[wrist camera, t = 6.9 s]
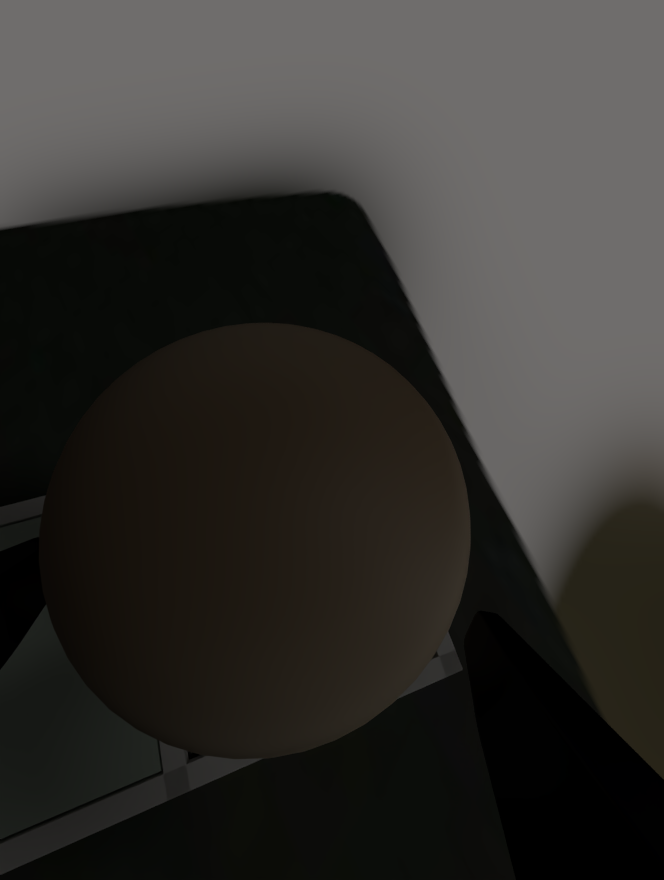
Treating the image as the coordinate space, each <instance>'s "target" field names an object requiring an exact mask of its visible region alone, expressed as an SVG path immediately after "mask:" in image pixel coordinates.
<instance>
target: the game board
mask: <svg viewBox="0 0 664 880" xmlns="http://www.w3.org/2000/svg"><path fill="white" fill-rule="evenodd" d="M45 497H46V496H42V497H38V498H34V499H30V500H26V501H22V502H18V503H14V504H10V505H6V506H3V507H0V551H2V550H5V549H7V548H10V547H13V546H15V545H18V544H20V543H23V542H25V541H28V540H30V539H33V538H36V537H39V529H40V523H41V517H42V511H43V505H44V500H45ZM461 670H463V669H462V666H461V663H460V661H459V658H458V656H457V653H456V651H455V648H454V645H453V643H452V640H451V638H450V635H449V633H448V632H447V633H446V635H445V637H444V639H443V641H442V642H441V644H440V646H439V648H438V650H437V651H436V653H435V655H434V656H433V658H432V659H431V660H430V662H429V663H428V664H427V666H426V667H425V668H424V670H423V671H422V672H421V674H420V675H419V676H418V678H417V679H416V680H415V681H414V682H413V683H412V684H411V685H410V686H409V687H408V688H407V689H406V690H405V691H404V692H403V693H402V694H401V695H400V696H399V697H398V698H400V697H402V696H405V695H407V694H409V693H411V692H414V691H416V690H418V689H421V688H423V687H425V686H427V685H430V684H432V683H434V682H436V681H439V680H441V679H443V678H445V677H448V676H450V675H452V674H454V673H457V672H459V671H461ZM398 698H397V699H398ZM260 759H263V758H257V759H229V758H221V757H213V756H206V755H199V756H197V757H195V758H192V759H190V760H189V757H188V751H186V750H183V749H180V748H176V747H173V746H170V745H167V744H165V743H163V742H161V741H159V740H157V739H155V738H153V737H151V736H149V735H147V734H145V733H143V732H141V731H139V730H137V729H135V728H134V727H133V726H131V725H130V724H129V723H127V722H126V721H124V720H123V719H122V718H120V717H119V716H118V715H116V714H115V713H114V712H112V711H111V710H109V709H108V708H107V706H106V705H105V704H104V703H103V702H102V701H101V700H100V699H99V698H98V697H97V696H96V695H95V694H94V693H93V692H92V691H91V690H90V689H89V688H88V687H87V686H86V684H85V683H84V682H83V680H82V679H81V677H80V676H79V674H78V673H77V671H76V670H75V668H74V667H73V665H72V664H71V663H70V661H69V660H68V658H67V656H66V654H65V652H64V650H63V647H62V645H61V643H60V641H59V639H58V637H57V635H56V632H55V630H54V628H53V625H52V623H51V619H50V616H49V612H48V609H47V605H45V607H44V608H43V610H42V611H41V613H40V614H39V616H38V617H37V619H36V620H35V622H34V623H33V625H32V626H31V628H30V629H29V631H28V632H27V634H26V635H25V637H24V638H23V640H22V641H21V643H20V644H19V646H18V647H17V648H16V650H15V651H14V653H13V654H12V655H11V657H10V658H9V659H8V661H7V662H6V663H5V664H4V666H3V667H2V668H1V670H0V839H2V838H4V839H2V840H0V875H1V874H3V873H6V872H8V871H10V870H12V869H15V868H17V867H19V866H21V865H24V864H26V863H28V862H30V861H33V860H35V859H37V858H39V857H42V856H44V855H46V854H49V853H51V852H53V851H55V850H58V849H60V848H62V847H64V846H67V845H69V844H71V843H73V842H76V841H78V840H80V839H82V838H85V837H87V836H89V835H91V834H94V833H96V832H98V831H100V830H103V829H105V828H107V827H109V826H112V825H114V824H116V823H118V822H121V821H123V820H125V819H127V818H130V817H132V816H134V815H136V814H139V813H141V812H143V811H145V810H148V809H150V808H152V807H154V806H157V805H159V804H161V803H163V802H166V801H168V800H170V799H173V798H175V797H177V796H179V795H182V794H184V793H186V792H188V791H191V790H193V789H195V788H197V787H200V786H202V785H204V784H206V783H209V782H211V781H213V780H215V779H218V778H220V777H222V776H224V775H227V774H229V773H231V772H233V771H236V770H238V769H240V768H242V767H245V766H247V765H249V764H251V763H254V762H256V761H258V760H260ZM162 769H163V771H162ZM160 771H162V772H160ZM158 772H159V773H158ZM155 773H157V774H155ZM153 774H155V775H153ZM151 775H152V776H151ZM148 776H150V777H148ZM146 777H148V778H146ZM143 778H145V779H143ZM141 779H143V780H141ZM139 780H141V781H139ZM136 781H138V782H136ZM134 782H136V783H134ZM132 783H134V784H132ZM129 784H131V785H129ZM127 785H129V786H127ZM125 786H126V787H125ZM122 787H124V788H122ZM120 788H122V789H120ZM118 789H119V790H118ZM115 790H117V791H115ZM113 791H115V792H113ZM111 792H112V793H111ZM108 793H110V794H108ZM106 794H108V795H106ZM103 795H105V796H103ZM101 796H103V797H101ZM99 797H101V798H99ZM96 798H98V799H96ZM94 799H96V800H94ZM92 800H94V801H92ZM89 801H91V802H89ZM87 802H89V803H87ZM85 803H87V804H85ZM82 804H84V805H82ZM80 805H82V806H80ZM78 806H80V807H78ZM75 807H77V808H75ZM73 808H75V809H73ZM71 809H72V810H71ZM68 810H70V811H68ZM66 811H68V812H66ZM64 812H65V813H64ZM61 813H63V814H61ZM59 814H61V815H59ZM56 815H58V816H56ZM54 816H56V817H54ZM52 817H54V818H52ZM49 818H51V819H49ZM47 819H49V820H47ZM45 820H47V821H45ZM42 821H44V822H42ZM40 822H42V823H40ZM38 823H40V824H38ZM35 824H37V825H35ZM33 825H35V826H33ZM31 826H33V827H31ZM28 827H30V828H28ZM26 828H28V829H26ZM24 829H26V830H24ZM21 830H23V831H21ZM19 831H21V832H19ZM17 832H18V833H17ZM14 833H16V834H14ZM12 834H14V835H12ZM9 835H11V836H9ZM7 836H9V837H7ZM5 837H7V838H5Z"/></svg>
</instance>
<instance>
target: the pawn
mask: <svg viewBox="0 0 664 880" xmlns="http://www.w3.org/2000/svg"><path fill="white" fill-rule="evenodd" d="M469 554H470V512H469V505H468V497H467V490H466V485H465V481H464V477H463V473H462V470H461V466H460V463H459V460H458V458H457V455H456V453H455V450H454V447H453V445H452V442H451V440H450V438H449V437H448V435H447V433H446V431H445V429H444V427H443V426H442V424H441V422H440V420H439V419H438V417H437V416H436V414H435V413H434V412H433V410H432V409H431V407H430V406H429V405H428V403H427V402H426V401H425V399H424V398H423V397H422V396H421V395H420V394H419V393H418V392H417V391H416V389H415V388H414V387H413V386H412V385H411V384H410V383H409V382H408V381H407V380H406V379H405V378H404V377H403V376H402V375H401V374H399V373H398V372H397V371H396V370H395V369H394V368H393V367H392V366H390V365H389V364H387V363H386V362H385V361H383V360H382V359H380V358H379V357H377V356H376V355H375V354H373V353H371V352H370V351H368V350H366V349H364V348H362V347H360V346H359V345H357V344H355V343H353V342H350V341H348V340H346V339H343V338H341V337H339V336H336V335H333V334H330V333H327V332H323V331H320V330H317V329H313V328H308V327H302V326H297V325H291V324H278V323H247V324H239V325H231V326H224V327H220V328H216V329H212V330H207V331H203V332H200V333H197V334H194V335H191V336H189V337H186V338H183V339H180V340H178V341H176V342H174V343H172V344H170V345H168V346H165V347H163V348H161V349H159V350H157V351H156V352H154V353H152V354H151V355H149V356H148V357H146V358H144V359H143V360H141V361H139V362H138V363H136V364H135V365H134V366H133V367H131V368H130V369H129V370H127V371H126V372H125V373H124V374H122V375H121V376H120V377H119V378H117V379H116V380H115V381H114V382H113V383H112V384H111V385H110V386H109V387H108V388H107V389H106V390H105V391H104V392H103V393H102V394H101V395H100V396H99V397H98V398H97V399H96V401H95V402H94V403H93V404H92V406H91V407H90V408H89V409H88V411H87V412H86V413H85V414H84V416H83V417H82V418H81V420H80V421H79V423H78V425H77V426H76V428H75V429H74V431H73V433H72V434H71V436H70V438H69V439H68V441H67V443H66V445H65V447H64V449H63V452H62V454H61V456H60V458H59V460H58V463H57V465H56V467H55V469H54V471H53V474H52V477H51V480H50V484H49V487H48V490H47V493H46V497H45V500H44V505H43V511H42V517H41V523H40V529H39V567H40V575H41V583H42V591H43V595H44V598H45V602H46V605H47V609H48V612H49V616H50V619H51V623H52V625H53V628H54V630H55V632H56V635H57V637H58V639H59V641H60V643H61V645H62V647H63V650H64V652H65V654H66V656H67V658H68V660H69V661H70V663H71V664H72V665H73V667H74V668H75V670H76V671H77V673H78V674H79V676H80V677H81V679H82V680H83V682H84V683H85V684H86V686H87V687H88V688H89V689H90V690H91V691H92V692H93V693H94V694H95V695H96V696H97V697H98V698H99V699H100V700H101V701H102V702H103V703H104V704H105V705H106V706H107V708H108V709H109V710H111V711H112V712H114V713H115V714H116V715H118V716H119V717H120V718H122V719H123V720H124V721H126V722H127V723H129V724H130V725H131V726H133V727H134V728H135V729H137V730H139V731H141V732H143V733H145V734H147V735H149V736H151V737H153V738H155V739H157V740H159V741H161V742H163V743H165V744H167V745H170V746H173V747H176V748H180V749H183V750H186V751H189V752H193V753H196V754H199V755H206V756H213V757H221V758H229V759H257V758H273V757H278V756H284V755H289V754H294V753H299V752H304V751H307V750H310V749H312V748H315V747H318V746H321V745H323V744H326V743H329V742H332V741H334V740H337V739H338V738H340V737H342V736H344V735H346V734H348V733H349V732H351V731H353V730H355V729H357V728H359V727H360V726H362V725H364V724H366V723H367V722H368V721H370V720H371V719H372V718H374V717H375V716H376V715H378V714H379V713H380V712H382V711H383V710H384V709H386V708H387V707H388V706H390V705H391V704H392V703H393V702H394V701H395V700H396V699H397V698H398V697H399V696H400V695H401V694H402V693H403V692H404V691H405V690H406V689H407V688H408V687H409V686H410V685H411V684H412V683H413V682H414V681H415V680H416V679H417V678H418V676H419V675H420V674H421V672H422V671H423V670H424V668H425V667H426V666H427V664H428V663H429V662H430V660H431V659H432V658H433V656H434V655H435V653H436V651H437V650H438V648H439V646H440V644H441V642H442V641H443V639H444V637H445V635H446V633H447V632H448V630H449V628H450V625H451V623H452V620H453V618H454V615H455V613H456V610H457V608H458V605H459V603H460V600H461V596H462V592H463V588H464V584H465V580H466V576H467V570H468V562H469Z"/></svg>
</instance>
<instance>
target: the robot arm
mask: <svg viewBox="0 0 664 880" xmlns="http://www.w3.org/2000/svg"><path fill="white" fill-rule="evenodd" d="M45 605H46V602H45V598H44V595H43V591H42V583H41V575H40V567H39V537H36V538H33V539H30V540H28V541H25V542H23V543H20V544H18V545H15V546H13V547H10V548H7V549H5V550H2V551H0V670H1V668H2V667H3V666H4V664H5V663H6V662H7V661H8V659H9V658H10V657H11V655H12V654H13V653H14V651H15V650H16V648H17V647H18V646H19V644H20V643H21V641H22V640H23V638H24V637H25V635H26V634H27V632H28V631H29V629H30V628H31V626H32V625H33V623H34V622H35V620H36V619H37V617H38V616H39V614H40V613H41V611H42V610H43V608H44V607H45ZM464 649H465V655H466V661H467V668H468V674H469V680H470V686H471V693H472V699H473V705H474V712H475V717H476V722H477V727H478V732H479V736H480V740H481V744H482V748H483V752H484V756H485V760H486V764H487V768H488V771H489V775H490V779H491V783H492V787H493V791H494V795H495V799H496V803H497V807H498V811H499V814H500V818H501V822H502V826H503V830H504V834H505V838H506V842H507V846H508V850H509V854H510V858H511V861H512V865H513V869H514V873H515V877H516V880H664V780H663V779H662V778H661V777H660V776H659V775H658V774H657V773H656V772H655V771H654V770H653V769H652V768H651V767H650V766H649V765H648V764H647V763H646V762H645V761H644V760H643V759H642V758H641V757H640V756H639V755H638V754H637V753H636V752H635V751H634V750H633V749H632V748H631V747H630V746H629V745H628V744H627V743H626V742H625V741H624V740H623V739H622V738H621V737H620V736H619V735H618V734H617V733H616V732H615V731H614V730H613V729H612V728H611V727H610V726H609V725H608V724H607V723H606V722H605V721H604V720H603V719H602V718H601V717H600V716H599V715H598V714H597V713H596V712H595V711H594V710H593V709H592V708H591V707H590V706H589V705H588V704H587V703H586V702H585V701H584V700H583V699H582V698H581V697H580V696H579V695H578V694H577V693H576V692H575V691H574V690H573V689H572V688H571V687H570V686H569V685H568V684H567V683H566V682H565V681H564V680H563V679H562V678H561V677H560V676H559V675H558V674H557V673H556V672H555V671H554V670H553V669H552V668H551V667H550V666H549V665H548V664H547V663H546V662H545V661H544V660H543V659H542V658H541V657H540V656H539V655H538V654H537V653H536V652H535V651H534V650H533V649H532V648H531V647H530V646H529V645H528V644H527V643H526V642H525V641H524V640H523V639H522V638H521V637H520V636H519V635H518V634H517V633H516V632H515V631H514V630H513V629H512V628H511V627H510V626H509V625H508V624H507V623H506V622H505V621H504V620H503V619H502V618H501V617H500V616H499V615H498V614H496V613H492V612H486V611H478V612H477V613H476V614H475V616H474V618H473V620H472V622H471V624H470V627H469V629H468V631H467V633H466V635H465V639H464Z"/></svg>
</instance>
